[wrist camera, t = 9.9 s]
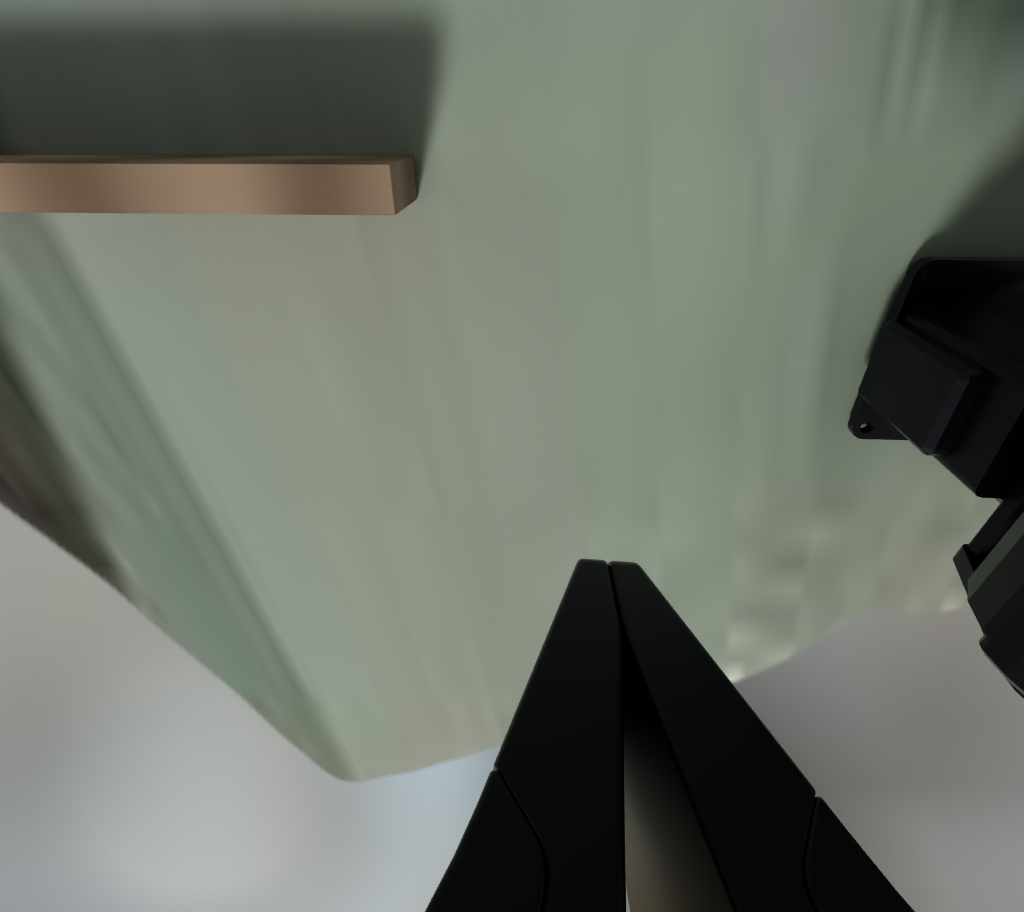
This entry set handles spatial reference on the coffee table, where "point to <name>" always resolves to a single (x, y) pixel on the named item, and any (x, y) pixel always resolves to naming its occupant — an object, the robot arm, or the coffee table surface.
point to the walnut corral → (207, 184)
